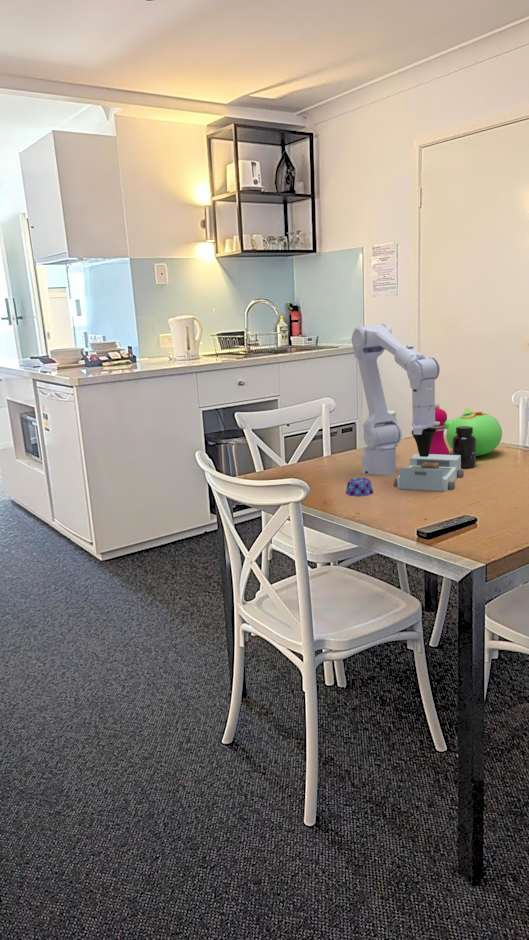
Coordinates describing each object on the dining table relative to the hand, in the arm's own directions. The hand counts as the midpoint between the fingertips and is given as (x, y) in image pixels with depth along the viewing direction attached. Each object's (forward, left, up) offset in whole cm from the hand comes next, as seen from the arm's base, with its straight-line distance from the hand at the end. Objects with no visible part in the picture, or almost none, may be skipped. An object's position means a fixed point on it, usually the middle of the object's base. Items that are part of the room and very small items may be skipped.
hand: (424, 456), depth 177 cm
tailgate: (0, -4, -5) cm, 7 cm away
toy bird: (+5, +45, -10) cm, 46 cm away
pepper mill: (-2, +25, -10) cm, 27 cm away
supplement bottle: (+5, +30, -10) cm, 32 cm away
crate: (0, +7, -8) cm, 10 cm away
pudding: (-15, -9, -10) cm, 21 cm away
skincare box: (-22, +36, -10) cm, 43 cm away
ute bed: (0, +7, -10) cm, 12 cm away
